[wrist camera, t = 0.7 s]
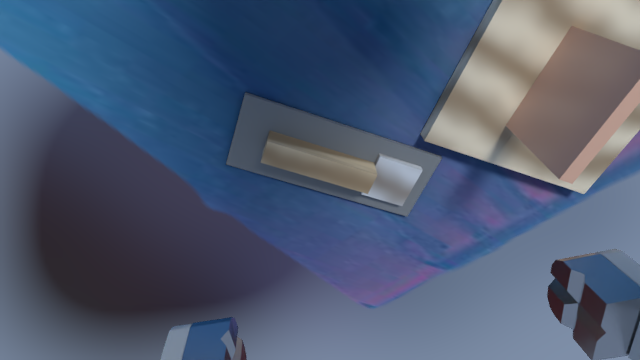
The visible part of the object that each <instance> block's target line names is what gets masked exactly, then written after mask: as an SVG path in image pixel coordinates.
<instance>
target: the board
mask: <svg viewBox="0 0 640 360" xmlns="http://www.w3.org/2000/svg"><path fill="white" fill-rule="evenodd" d="M571 26H574V27H577V28H579V29H582V30H585V31H588V32H590V33H593V34H596V35H599V36H602V37H604V38H607V39H610V40H613V41H615V42H618V43H621V44H624V45H626V46H629V47H632V48H635V49H637V50H640V0H493V1H492V3H491V5H490V7H489V8H488V10H487V12H486V14H485V16H484V18H483V19H482V21H481V23H480V25H479V27H478V29H477V31H476V32H475V34H474V36H473V38H472V40H471V42H470V43H469V45H468V47H467V49H466V51H465V53H464V54H463V56H462V58H461V60H460V62H459V64H458V65H457V67H456V69H455V71H454V73H453V75H452V77H451V78H450V80H449V82H448V84H447V86H446V88H445V89H444V91H443V93H442V95H441V97H440V99H439V100H438V102H437V104H436V106H435V108H434V110H433V111H432V113H431V115H430V117H429V119H428V121H427V123H426V124H425V126H424V128H423V130H422V132H421V136H422V137H423V139H424V141H426V142H429V143H432V144H435V145H438V146H441V147H444V148H447V149H450V150H453V151H456V152H459V153H462V154H465V155H468V156H471V157H474V158H477V159H480V160H483V161H486V162H489V163H492V164H495V165H498V166H501V167H504V168H507V169H510V170H513V171H516V172H519V173H522V174H525V175H528V176H531V177H534V178H537V179H540V180H543V181H546V182H549V183H552V184H555V185H558V186H561V187H564V188H567V189H570V190H573V191H576V192H579V193H582V194H585V193H586V191H587V190H588V189H589V188H590V187H591V186H592V184H593V183H594V182H595V181H596V180H597V179H598V177H599V176H600V175H601V174H602V173H603V172H604V170H605V169H606V168H607V167H608V166H609V165H610V164H611V162H612V161H613V160H614V159H615V158H616V157H617V155H618V154H619V153H620V152H621V151H622V150H623V148H624V147H625V146H626V145H627V144H628V143H629V141H630V140H631V139H632V138H633V137H634V136H635V135H636V133H637V132H638V131H639V130H640V103H639V104H638V105H637V107H636V108H635V109H634V110H633V111H632V113H631V114H630V115H629V116H628V117H627V119H626V120H625V121H624V122H623V123H622V125H621V126H620V127H619V128H618V129H617V131H616V132H615V133H614V134H613V135H612V137H611V138H610V139H609V140H608V141H607V143H606V144H605V145H604V146H603V148H602V149H601V150H600V151H599V152H598V154H597V155H596V156H595V157H594V158H593V160H592V161H591V162H590V163H589V164H588V166H587V167H586V168H585V169H584V170H583V172H582V173H581V174H580V175H579V176H578V178H577V179H576V180H575V181H574V182H573V184H571V183H568V182H565V181H562V180H559V179H558V178H557V177H556V176H555V175H554V174H553V173H552V172H551V171H550V170H549V169H548V168H547V167H546V166H545V165H544V164H543V163H542V162H541V161H540V160H539V159H538V158H537V157H536V156H535V155H534V154H533V153H532V152H531V151H530V150H529V149H528V148H527V147H526V146H525V145H524V144H523V143H522V142H521V141H520V140H519V139H518V138H517V137H516V136H515V135H514V134H513V133H512V132H511V131H510V130H509V129H508V128H507V127H506V124H507V123H508V121H509V120H510V118H511V117H512V115H513V114H514V112H515V111H516V109H517V108H518V106H519V105H520V103H521V102H522V100H523V99H524V97H525V96H526V94H527V93H528V91H529V90H530V88H531V87H532V85H533V83H534V82H535V80H536V79H537V77H538V76H539V74H540V73H541V71H542V70H543V68H544V67H545V65H546V64H547V62H548V61H549V59H550V58H551V56H552V55H553V53H554V52H555V50H556V49H557V47H558V46H559V44H560V43H561V41H562V40H563V38H564V37H565V35H566V34H567V32H568V31H569V29H570V28H571Z"/></svg>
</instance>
